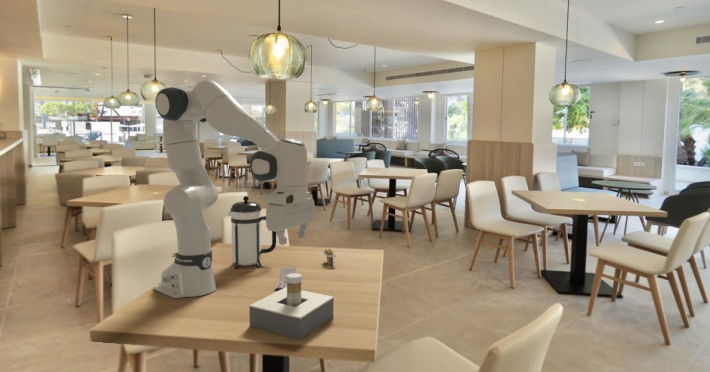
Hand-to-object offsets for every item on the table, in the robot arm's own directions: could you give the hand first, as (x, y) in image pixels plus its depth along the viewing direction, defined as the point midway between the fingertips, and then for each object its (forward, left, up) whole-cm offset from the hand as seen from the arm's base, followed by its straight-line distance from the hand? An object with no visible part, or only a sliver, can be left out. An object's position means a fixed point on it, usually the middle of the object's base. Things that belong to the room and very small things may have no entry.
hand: (292, 240), depth 133 cm
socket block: (0, 0, -25) cm, 25 cm away
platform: (-22, +58, -26) cm, 67 cm away
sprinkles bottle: (0, 0, -24) cm, 24 cm away
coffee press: (-50, +39, -25) cm, 68 cm away
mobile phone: (-17, +19, -25) cm, 36 cm away
